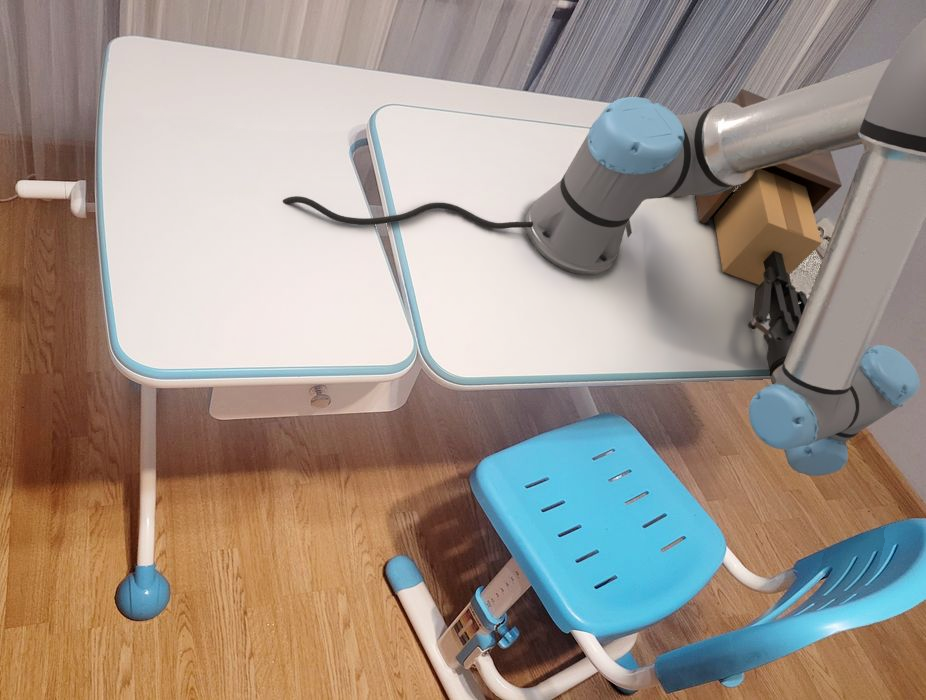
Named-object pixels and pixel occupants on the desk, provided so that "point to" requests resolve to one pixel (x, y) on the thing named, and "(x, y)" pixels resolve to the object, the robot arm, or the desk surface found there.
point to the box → (765, 226)
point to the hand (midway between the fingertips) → (772, 257)
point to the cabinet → (783, 173)
